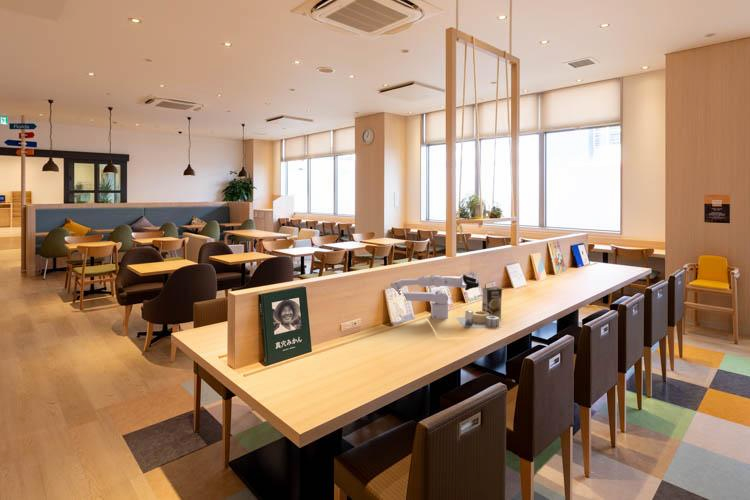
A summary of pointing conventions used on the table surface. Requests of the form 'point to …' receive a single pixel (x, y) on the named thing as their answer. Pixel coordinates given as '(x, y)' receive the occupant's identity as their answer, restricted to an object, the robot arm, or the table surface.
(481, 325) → the fitting board
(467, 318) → the metal cylinder
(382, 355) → the table surface
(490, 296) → the coffee box
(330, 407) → the table surface
